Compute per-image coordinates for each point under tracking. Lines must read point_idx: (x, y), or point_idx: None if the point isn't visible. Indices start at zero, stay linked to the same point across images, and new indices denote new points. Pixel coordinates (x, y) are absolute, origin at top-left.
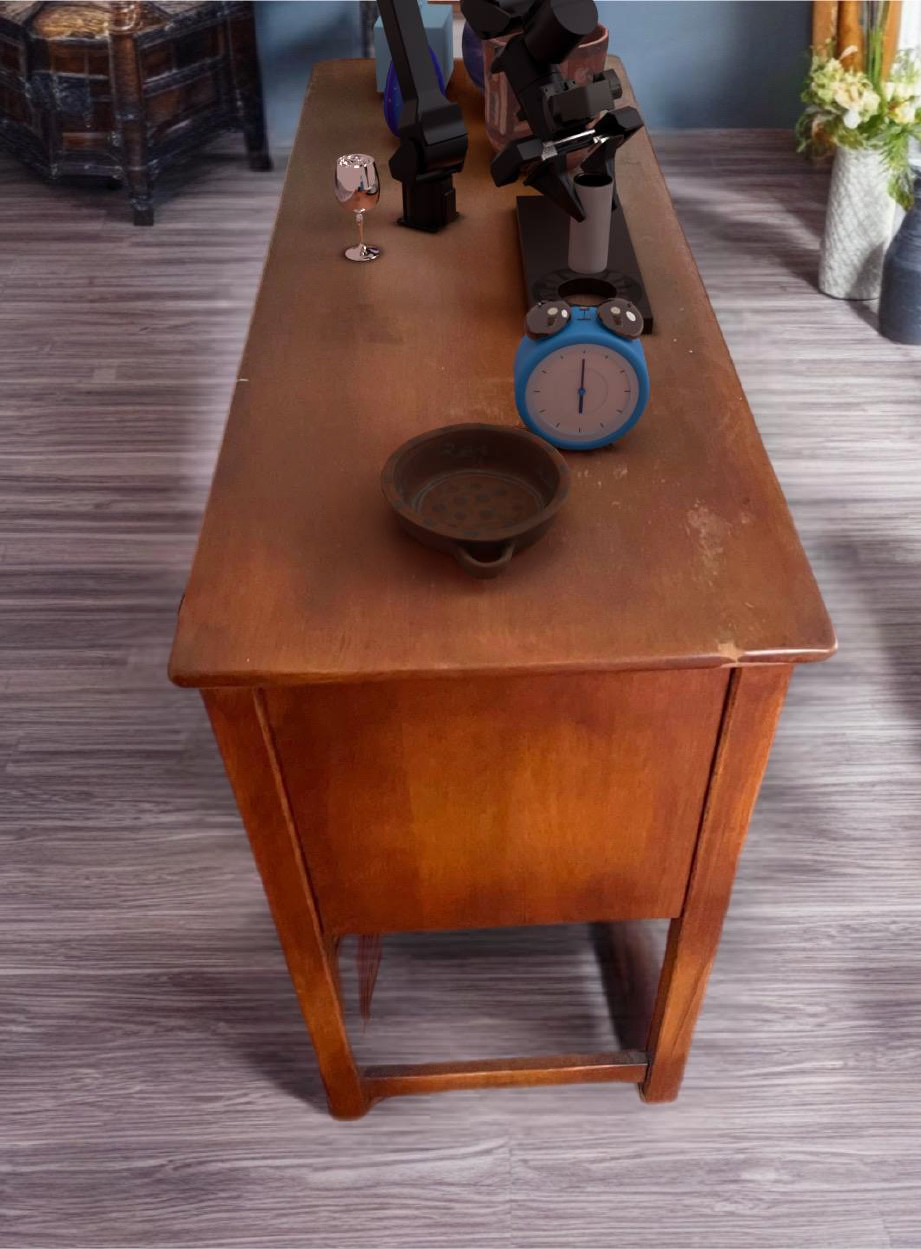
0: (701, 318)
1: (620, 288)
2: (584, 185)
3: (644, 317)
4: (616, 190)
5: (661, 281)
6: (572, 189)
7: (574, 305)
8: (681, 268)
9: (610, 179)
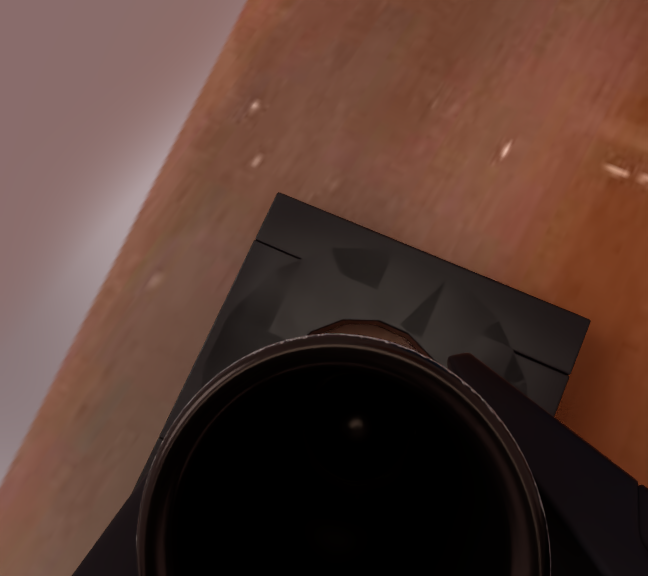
0: (143, 222)
1: None
2: (499, 435)
3: (297, 202)
4: (139, 483)
5: (106, 436)
6: (583, 503)
7: (434, 345)
8: (17, 478)
9: (181, 460)
